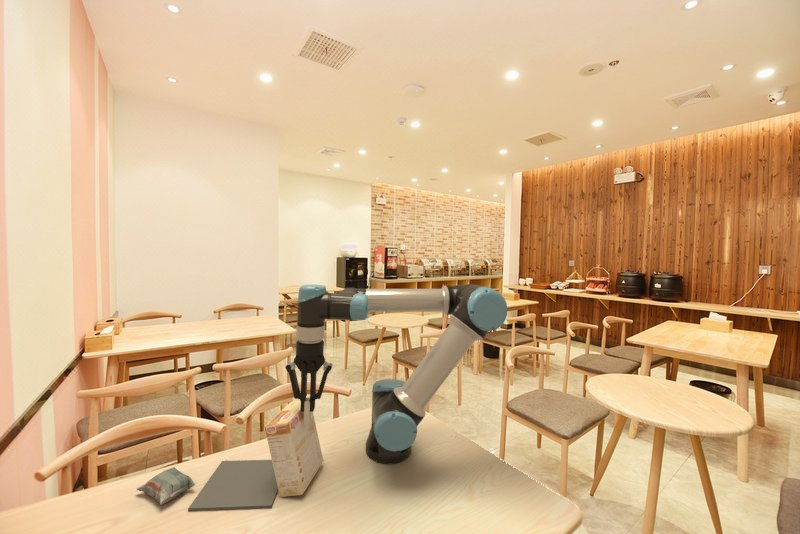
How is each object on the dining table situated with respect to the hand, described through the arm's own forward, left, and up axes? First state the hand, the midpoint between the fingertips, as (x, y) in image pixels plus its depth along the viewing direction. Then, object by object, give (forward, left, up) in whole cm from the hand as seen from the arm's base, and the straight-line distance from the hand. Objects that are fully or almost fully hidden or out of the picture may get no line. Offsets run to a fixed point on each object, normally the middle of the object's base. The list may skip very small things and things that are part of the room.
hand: (307, 422), depth 95 cm
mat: (+17, +1, -17) cm, 24 cm away
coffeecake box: (+1, 0, -16) cm, 16 cm away
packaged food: (+36, +4, -17) cm, 40 cm away
